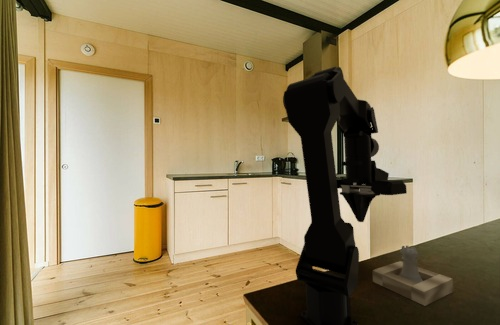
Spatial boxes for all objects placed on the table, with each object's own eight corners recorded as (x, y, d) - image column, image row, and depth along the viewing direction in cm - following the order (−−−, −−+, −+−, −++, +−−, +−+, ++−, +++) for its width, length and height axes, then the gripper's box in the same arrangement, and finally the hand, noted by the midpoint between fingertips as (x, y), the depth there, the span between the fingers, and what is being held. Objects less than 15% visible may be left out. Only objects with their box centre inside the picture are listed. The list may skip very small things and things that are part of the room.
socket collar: (425, 306, 40) (424, 291, 40) (373, 281, 49) (372, 270, 49) (453, 291, 44) (452, 278, 44) (400, 271, 53) (400, 261, 53)
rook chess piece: (412, 294, 44) (410, 252, 44) (393, 283, 48) (391, 245, 49) (430, 290, 45) (427, 250, 45) (409, 280, 49) (407, 243, 50)
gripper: (419, 154, 50) (423, 225, 49) (349, 159, 66) (351, 212, 66) (387, 153, 45) (391, 232, 44) (320, 159, 62) (322, 216, 61)
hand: (360, 221), depth 54 cm, fingers closed
